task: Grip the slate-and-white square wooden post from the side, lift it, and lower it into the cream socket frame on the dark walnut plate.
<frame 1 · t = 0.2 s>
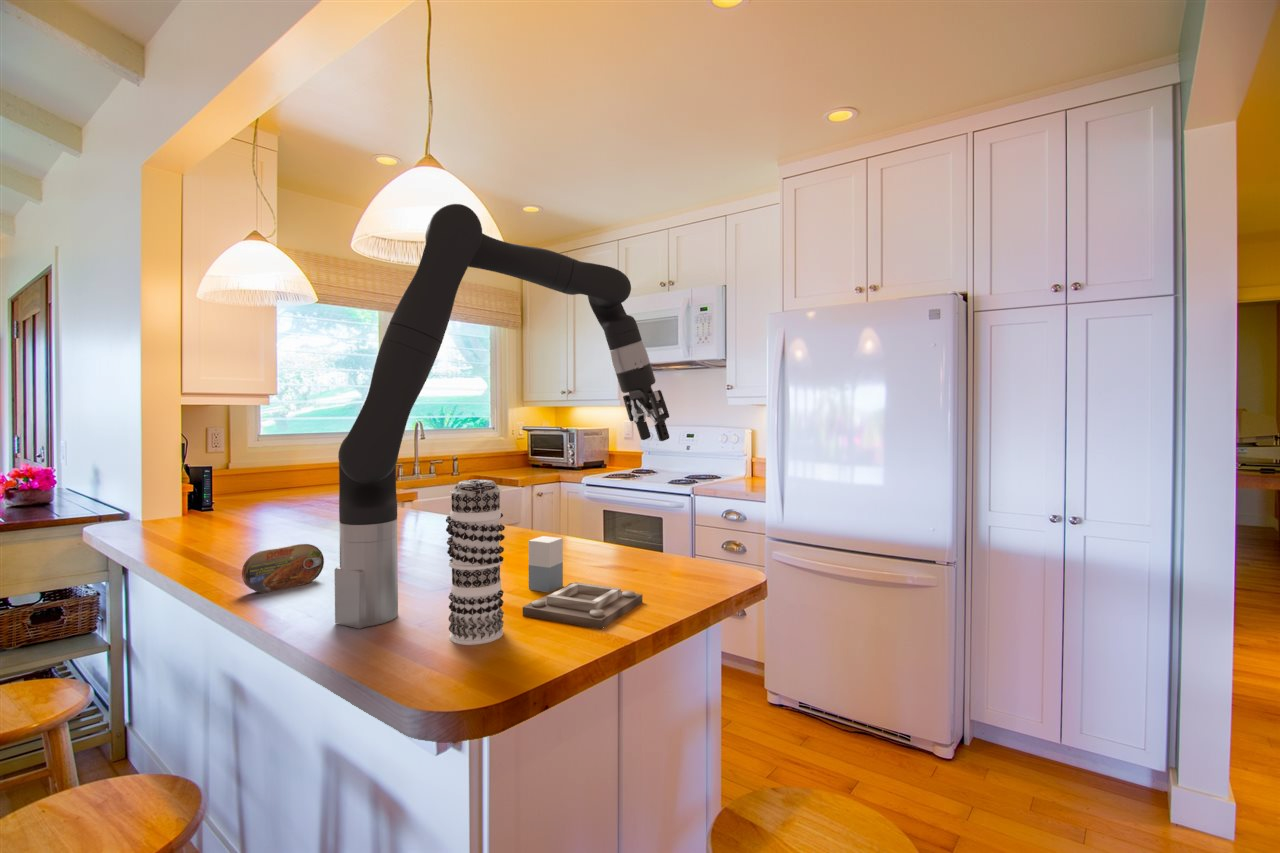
hand: (655, 439, 128), 30 cm above the table, tool tilted 20°, fingers open, 8 cm apart
decorative candle: (476, 636, 98), on the table
socket plate: (584, 608, 111), on the table
post: (545, 587, 124), on the table
tin: (284, 588, 125), on the table
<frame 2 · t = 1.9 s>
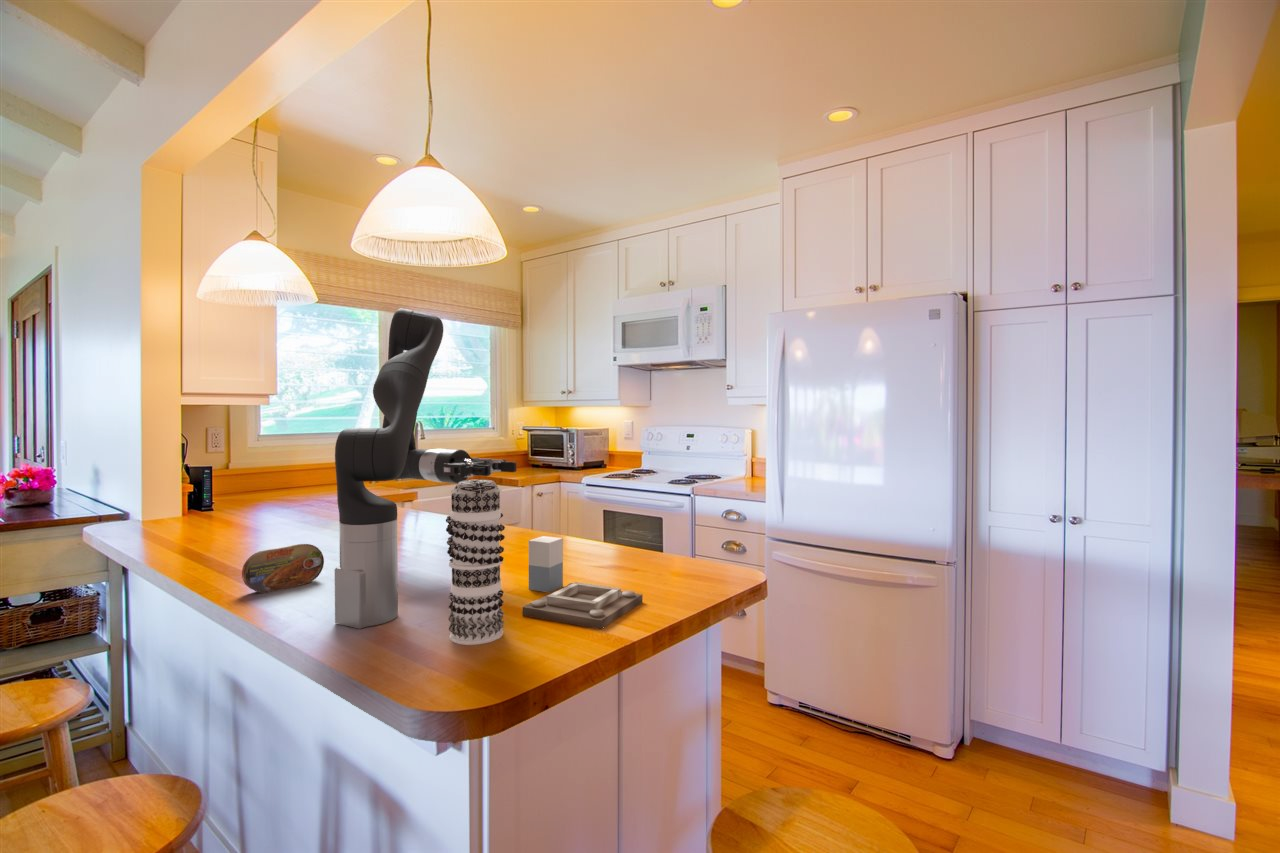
hand: (502, 468, 128), 24 cm above the table, tool horizontal, fingers open, 8 cm apart
nothing on the table moved.
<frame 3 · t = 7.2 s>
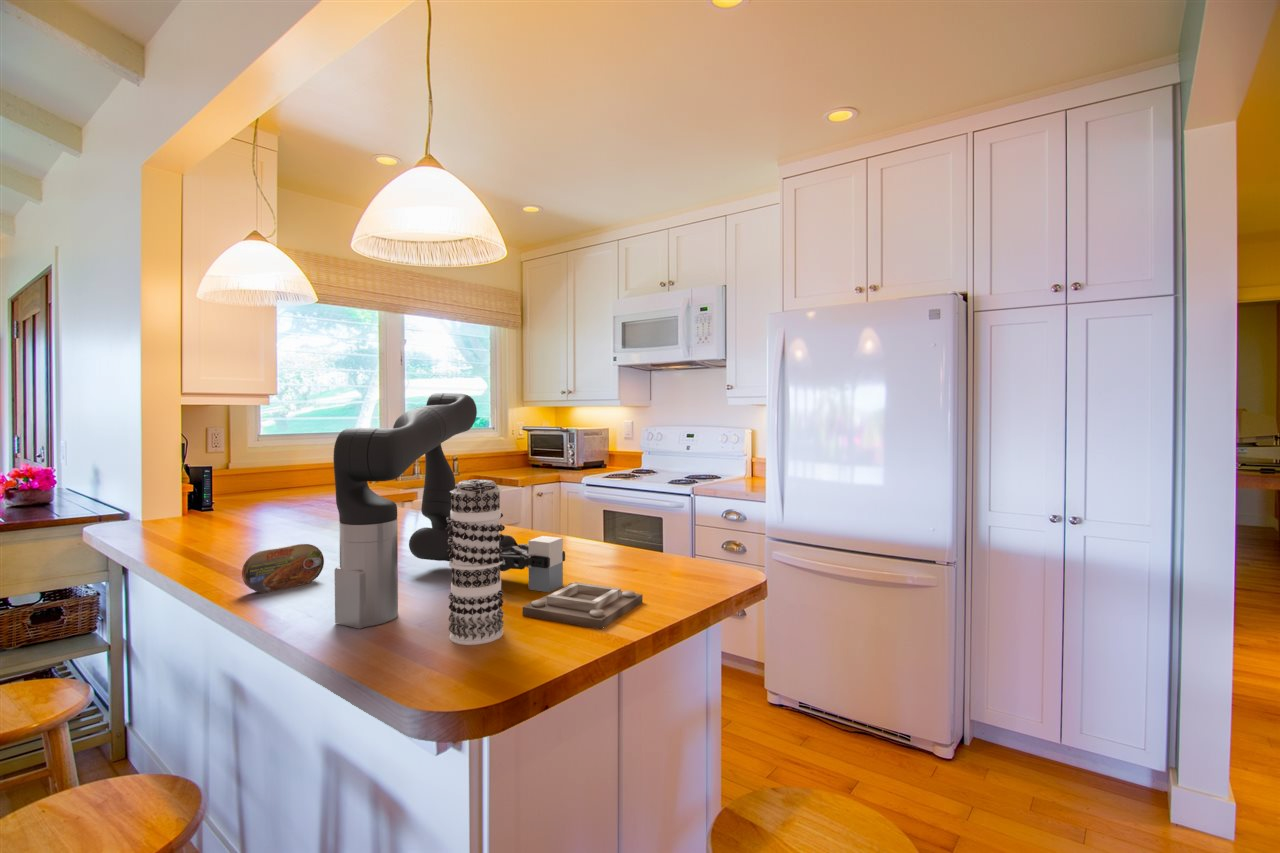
hand: (556, 559, 123), 6 cm above the table, tool horizontal, fingers closed on post, 5 cm apart
post: (545, 587, 124), on the table, touching gripper
everything else where it was.
when the fingers open (8 cm above the table, at t = 13.0 s): post stays where it is, resting on socket plate.
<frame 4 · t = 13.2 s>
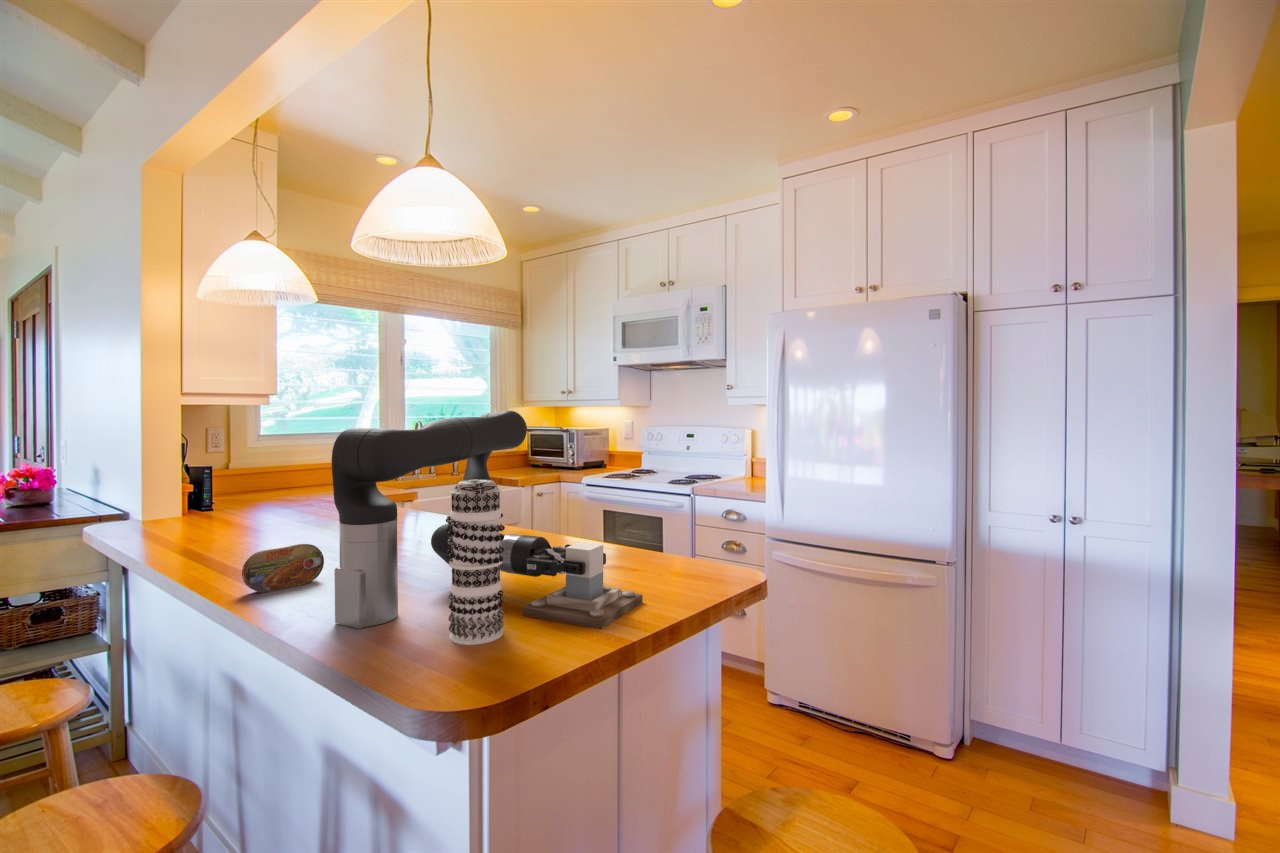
hand: (595, 563, 110), 9 cm above the table, tool horizontal, fingers open, 7 cm apart
post: (584, 600, 111), point 1 cm above the table, touching socket plate
everything else where it was.
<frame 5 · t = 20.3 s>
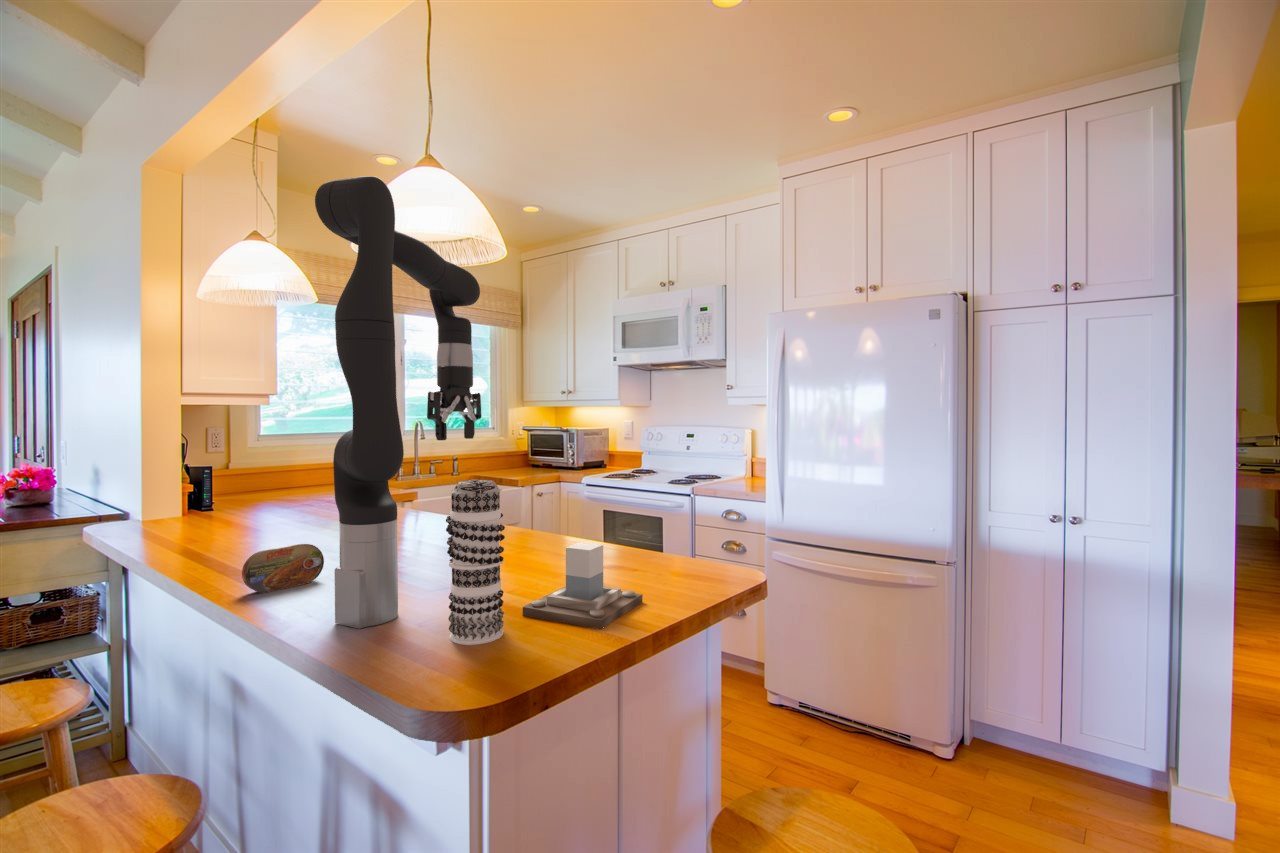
hand: (455, 439, 133), 30 cm above the table, tool pointing down, fingers open, 8 cm apart
nothing on the table moved.
at the end: post 0.1 cm off-centre on the socket plate, point 1.5 cm above the socket plate's base; post tilted 0°; the gripper is holding nothing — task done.
